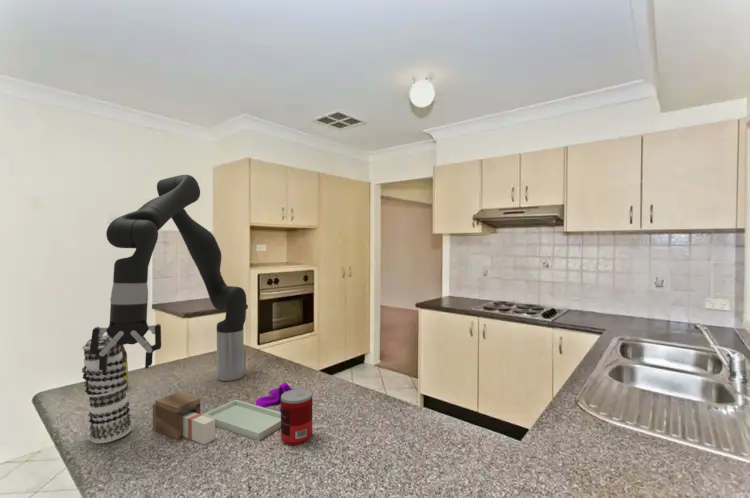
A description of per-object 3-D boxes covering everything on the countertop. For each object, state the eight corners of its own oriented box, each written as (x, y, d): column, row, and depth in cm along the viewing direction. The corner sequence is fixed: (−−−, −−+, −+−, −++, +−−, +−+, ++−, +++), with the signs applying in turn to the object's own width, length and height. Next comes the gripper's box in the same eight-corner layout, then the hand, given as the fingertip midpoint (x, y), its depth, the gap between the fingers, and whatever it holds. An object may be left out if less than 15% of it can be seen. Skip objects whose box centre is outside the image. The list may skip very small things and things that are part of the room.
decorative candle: (138, 421, 103) (128, 330, 102) (126, 439, 94) (115, 340, 93) (98, 429, 101) (88, 336, 99) (83, 447, 92) (71, 345, 90)
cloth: (300, 420, 107) (300, 398, 107) (241, 413, 112) (241, 392, 112) (328, 390, 129) (328, 372, 129) (278, 385, 133) (278, 368, 133)
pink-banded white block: (180, 426, 103) (179, 407, 103) (215, 439, 96) (215, 418, 96) (169, 431, 100) (168, 411, 100) (204, 444, 93) (204, 423, 93)
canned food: (317, 432, 99) (317, 390, 99) (302, 448, 92) (302, 402, 91) (291, 427, 102) (291, 386, 101) (274, 442, 94) (274, 398, 94)
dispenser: (176, 419, 106) (176, 391, 106) (200, 428, 101) (200, 398, 101) (152, 429, 100) (152, 399, 100) (177, 439, 95) (176, 407, 95)
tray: (235, 405, 116) (235, 399, 116) (290, 421, 105) (290, 415, 105) (201, 421, 105) (201, 414, 105) (258, 440, 95) (258, 433, 95)
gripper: (163, 299, 99) (160, 363, 98) (96, 301, 92) (92, 369, 91) (162, 302, 92) (159, 370, 91) (90, 303, 86) (86, 377, 85)
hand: (126, 369), depth 91 cm, fingers open, 8 cm apart
